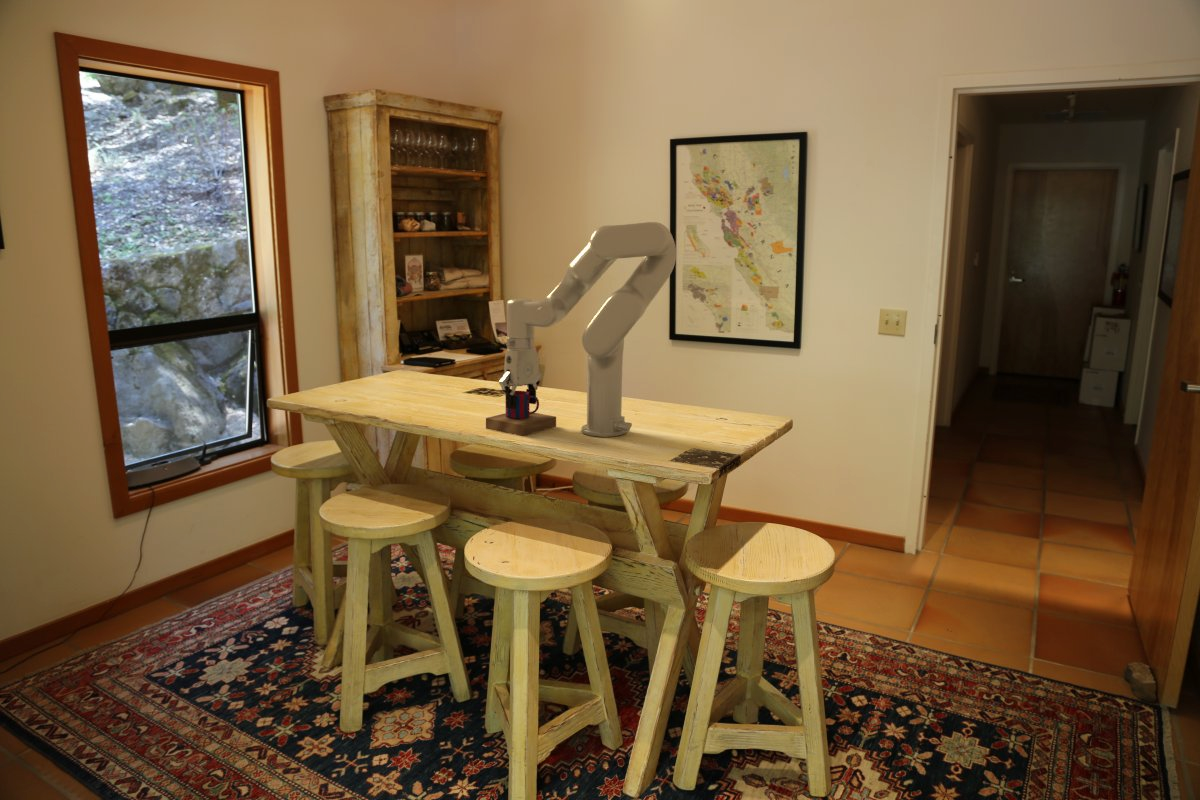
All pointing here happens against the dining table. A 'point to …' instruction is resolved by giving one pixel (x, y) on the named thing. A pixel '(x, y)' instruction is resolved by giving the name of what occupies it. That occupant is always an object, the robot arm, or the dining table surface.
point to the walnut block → (521, 424)
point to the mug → (521, 406)
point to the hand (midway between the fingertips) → (521, 405)
